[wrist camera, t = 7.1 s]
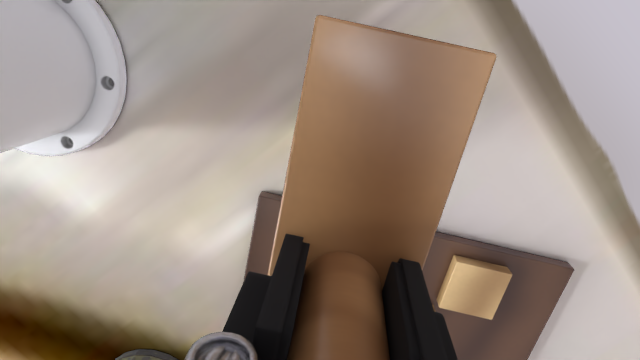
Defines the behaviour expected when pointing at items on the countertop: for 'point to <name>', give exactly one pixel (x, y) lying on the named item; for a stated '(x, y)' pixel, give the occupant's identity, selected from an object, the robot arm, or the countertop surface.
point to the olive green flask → (145, 355)
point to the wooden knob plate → (370, 173)
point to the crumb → (473, 287)
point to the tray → (465, 330)
